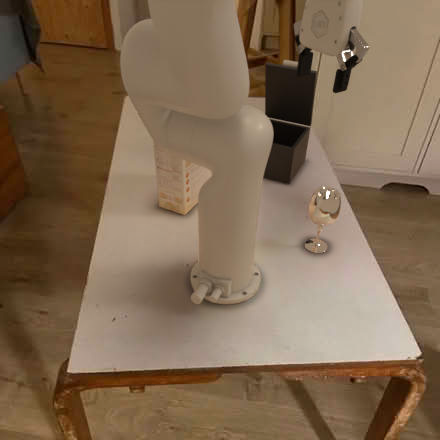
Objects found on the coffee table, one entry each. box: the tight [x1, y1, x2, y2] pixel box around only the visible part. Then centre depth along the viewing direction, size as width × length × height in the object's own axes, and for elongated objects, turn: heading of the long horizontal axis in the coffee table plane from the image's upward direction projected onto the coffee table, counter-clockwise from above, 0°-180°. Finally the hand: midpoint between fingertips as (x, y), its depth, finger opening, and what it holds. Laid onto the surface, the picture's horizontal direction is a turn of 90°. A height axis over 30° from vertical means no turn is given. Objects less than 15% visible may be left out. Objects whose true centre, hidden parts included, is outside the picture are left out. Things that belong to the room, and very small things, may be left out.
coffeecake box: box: [152, 140, 212, 216], centre depth 94 cm, size 15×7×20 cm, turn 152°
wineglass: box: [304, 186, 342, 254], centre depth 84 cm, size 6×6×12 cm
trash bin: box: [263, 118, 311, 185], centre depth 107 cm, size 13×12×9 cm
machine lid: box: [264, 59, 318, 127], centre depth 104 cm, size 13×12×5 cm
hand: (320, 83), depth 84 cm, fingers open, 9 cm apart
